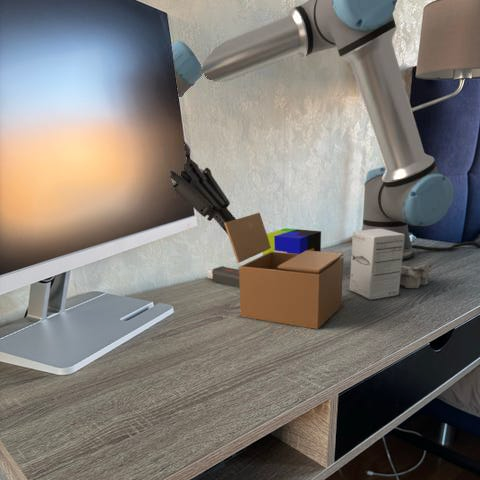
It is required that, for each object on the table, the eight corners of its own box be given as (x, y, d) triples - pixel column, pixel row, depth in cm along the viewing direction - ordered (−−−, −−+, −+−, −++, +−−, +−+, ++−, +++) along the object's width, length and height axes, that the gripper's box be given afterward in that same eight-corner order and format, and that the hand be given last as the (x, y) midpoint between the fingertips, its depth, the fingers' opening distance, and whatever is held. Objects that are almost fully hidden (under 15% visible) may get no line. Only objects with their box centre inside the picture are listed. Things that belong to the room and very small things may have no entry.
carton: (240, 316, 82) (238, 262, 79) (271, 296, 93) (270, 247, 89) (317, 329, 75) (319, 270, 71) (341, 305, 86) (343, 253, 82)
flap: (239, 262, 79) (237, 263, 79) (271, 248, 89) (269, 248, 89) (225, 222, 77) (224, 223, 77) (259, 212, 88) (258, 213, 88)
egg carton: (432, 283, 97) (434, 265, 95) (412, 290, 93) (414, 271, 91) (390, 274, 105) (391, 257, 103) (370, 280, 101) (371, 262, 99)
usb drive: (242, 288, 99) (241, 276, 98) (204, 279, 107) (204, 268, 106) (257, 282, 103) (256, 271, 102) (219, 274, 110) (219, 264, 109)
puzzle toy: (299, 282, 102) (299, 238, 98) (263, 276, 107) (262, 234, 104) (320, 272, 109) (321, 231, 105) (285, 267, 115) (285, 228, 111)
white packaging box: (348, 290, 94) (351, 230, 90) (377, 285, 97) (382, 227, 92) (369, 300, 88) (373, 236, 83) (400, 295, 90) (406, 233, 86)
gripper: (174, 160, 93) (246, 244, 92) (132, 163, 83) (212, 258, 81) (193, 132, 89) (269, 219, 87) (150, 131, 79) (236, 231, 77)
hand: (241, 238), depth 84 cm, fingers closed
